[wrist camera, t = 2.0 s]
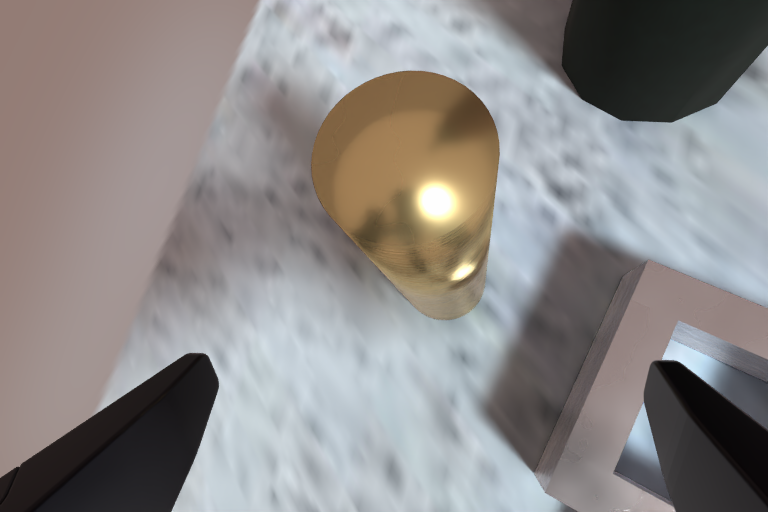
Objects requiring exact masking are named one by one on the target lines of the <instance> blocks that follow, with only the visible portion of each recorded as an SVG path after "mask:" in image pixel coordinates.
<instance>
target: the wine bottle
mask: <svg viewBox="0 0 768 512" xmlns="http://www.w3.org/2000/svg"><path fill="white" fill-rule="evenodd" d="M767 46H768V0H573V1H572V5H571V8H570V12H569V16H568V19H567V23H566V27H565V33H564V45H563V57H562V67H563V68H564V70H565V72H566V73H567V75H568V77H569V78H570V80H571V82H572V83H573V85H574V87H575V88H576V90H577V92H578V93H579V95H580V97H581V98H582V99H583V100H585V101H587V102H588V103H590V104H592V105H594V106H596V107H598V108H600V109H601V110H603V111H605V112H607V113H609V114H611V115H613V116H615V117H616V118H618V119H620V120H624V121H648V122H674V121H676V120H679V119H681V118H683V117H686V116H688V115H690V114H693V113H695V112H698V111H700V110H702V109H705V108H707V107H709V106H712V105H714V104H716V103H717V102H718V101H719V100H720V99H721V98H722V97H723V96H724V94H725V93H726V92H727V91H728V90H729V89H730V88H731V87H732V85H733V84H734V83H735V82H736V81H737V80H738V79H739V77H740V76H741V75H742V74H743V73H744V72H745V71H746V69H747V68H748V67H749V66H750V65H751V64H752V63H753V62H754V60H755V59H756V58H757V57H758V56H759V55H760V54H761V52H762V51H763V50H764V49H765V48H766V47H767Z"/></svg>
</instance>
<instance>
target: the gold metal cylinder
mask: <svg viewBox="0 0 768 512" xmlns="http://www.w3.org/2000/svg"><path fill="white" fill-rule="evenodd" d="M499 155H500V152H499V139H498V133H497V129H496V126H495V123H494V120H493V118H492V117H491V115H490V113H489V111H488V109H487V108H486V106H485V105H484V104H483V102H482V101H481V100H480V99H479V98H478V97H477V96H476V95H475V94H474V93H473V92H472V91H471V90H469V89H468V88H467V87H466V86H464V85H462V84H461V83H459V82H457V81H455V80H453V79H451V78H448V77H446V76H443V75H440V74H436V73H432V72H425V71H402V72H395V73H390V74H386V75H383V76H380V77H377V78H374V79H372V80H370V81H367V82H365V83H363V84H362V85H360V86H358V87H357V88H355V89H354V90H352V91H351V92H350V93H348V94H347V95H346V96H345V97H343V98H342V99H341V100H340V101H339V102H338V103H337V104H336V105H335V107H334V108H333V109H332V110H331V111H330V113H329V114H328V116H327V117H326V119H325V120H324V122H323V124H322V126H321V128H320V130H319V132H318V134H317V137H316V140H315V143H314V147H313V152H312V162H311V169H312V179H313V184H314V188H315V191H316V193H317V196H318V198H319V200H320V202H321V204H322V206H323V208H324V209H325V210H326V212H327V213H328V214H329V216H330V217H331V218H332V219H333V220H334V221H335V222H336V223H337V224H338V225H339V226H340V228H341V229H342V230H343V231H344V232H345V233H346V234H347V235H348V236H349V237H350V238H351V239H352V240H353V241H354V243H355V244H356V245H357V246H358V247H359V248H360V249H361V250H362V251H363V252H364V253H365V254H366V255H367V256H368V258H369V259H370V260H371V261H372V262H373V263H374V264H375V265H376V266H377V267H378V268H379V269H380V270H381V271H382V273H383V274H384V275H385V276H386V277H387V278H388V279H389V280H390V281H391V282H392V283H393V284H394V285H395V286H396V287H397V289H398V290H399V291H400V292H401V293H402V294H403V295H404V296H405V297H406V298H407V299H408V300H409V301H410V302H411V304H412V305H413V306H414V307H415V308H416V309H417V310H418V311H420V312H421V313H422V314H424V315H426V316H428V317H430V318H433V319H438V320H452V319H456V318H459V317H462V316H464V315H465V314H467V313H468V312H470V311H471V310H472V309H473V308H474V307H475V306H476V305H477V304H478V302H479V301H480V299H481V297H482V295H483V292H484V288H485V280H486V271H487V262H488V253H489V244H490V235H491V226H492V218H493V209H494V200H495V191H496V182H497V173H498V164H499Z"/></svg>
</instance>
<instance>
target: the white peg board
mask: <svg viewBox="0 0 768 512" xmlns="http://www.w3.org/2000/svg"><path fill="white" fill-rule="evenodd" d="M670 339H672V340H674V341H676V342H679V343H681V344H683V345H685V346H687V347H690V348H692V349H694V350H696V351H699V352H701V353H703V354H705V355H707V356H710V357H712V358H714V359H716V360H719V361H721V362H723V363H725V364H727V365H730V366H732V367H734V368H736V369H739V370H741V371H743V372H745V373H747V374H750V375H752V376H754V377H756V378H758V379H761V380H763V381H765V382H767V383H768V308H765V307H763V306H761V305H758V304H756V303H753V302H751V301H748V300H746V299H743V298H741V297H739V296H736V295H734V294H731V293H729V292H726V291H724V290H721V289H719V288H717V287H714V286H712V285H709V284H707V283H704V282H702V281H700V280H697V279H695V278H692V277H690V276H687V275H685V274H682V273H680V272H678V271H675V270H673V269H670V268H668V267H665V266H663V265H660V264H658V263H656V262H653V261H651V260H647V261H646V262H644V263H643V264H641V265H639V266H638V267H636V268H635V269H633V270H632V271H630V272H629V273H627V274H626V275H624V276H623V277H622V279H621V281H620V283H619V286H618V288H617V290H616V292H615V295H614V297H613V299H612V301H611V303H610V306H609V308H608V310H607V312H606V315H605V317H604V319H603V321H602V323H601V326H600V328H599V330H598V332H597V335H596V337H595V339H594V341H593V343H592V346H591V348H590V350H589V352H588V354H587V357H586V359H585V361H584V363H583V366H582V368H581V370H580V372H579V374H578V377H577V379H576V381H575V383H574V386H573V388H572V390H571V392H570V394H569V397H568V399H567V401H566V403H565V405H564V408H563V410H562V412H561V414H560V417H559V419H558V421H557V423H556V425H555V428H554V430H553V432H552V434H551V437H550V439H549V441H548V443H547V445H546V448H545V450H544V452H543V454H542V456H541V459H540V461H539V463H538V465H537V468H536V470H535V472H534V474H535V476H536V478H537V480H538V481H539V483H540V485H541V487H542V488H543V490H544V492H545V493H547V494H548V495H550V496H552V497H553V498H555V499H557V500H559V501H560V502H562V503H564V504H565V505H567V506H569V507H571V508H572V509H574V510H576V511H577V512H676V511H675V508H674V506H673V503H672V502H671V501H670V500H668V499H666V498H664V497H662V496H660V495H659V494H657V493H655V492H653V491H651V490H649V489H648V488H646V487H644V486H642V485H640V484H638V483H637V482H635V481H633V480H631V479H629V478H627V477H626V476H624V475H622V474H620V473H618V472H616V471H615V467H616V465H617V463H618V460H619V458H620V456H621V453H622V451H623V449H624V446H625V444H626V441H627V439H628V437H629V434H630V432H631V430H632V427H633V425H634V423H635V420H636V418H637V416H638V413H639V411H640V409H641V406H642V404H643V402H644V388H645V384H646V379H647V375H648V371H649V367H650V364H651V363H652V362H653V361H655V360H662V357H663V355H664V353H665V350H666V348H667V346H668V343H669V341H670Z"/></svg>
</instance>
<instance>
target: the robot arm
mask: <svg viewBox="0 0 768 512" xmlns="http://www.w3.org/2000/svg"><path fill="white" fill-rule="evenodd" d="M218 388H219V381H218V377H217V375H216V373H215V370H214V368H213V366H212V363H211V361H210V359H209V357H208V356H207V355H206V354H204V353H188V354H186V355H184V356H182V357H181V358H179V359H178V360H176V361H175V362H173V363H172V364H170V365H169V366H167V367H166V368H165V369H163V370H162V371H160V372H159V373H157V374H156V375H154V376H153V377H151V378H150V379H148V380H146V381H145V382H143V383H142V384H140V385H139V386H137V387H136V388H134V389H133V390H131V391H130V392H128V393H127V394H125V395H124V396H122V397H121V398H119V399H118V400H116V401H115V402H113V403H112V404H110V405H109V406H107V407H106V408H104V409H103V410H101V411H100V412H98V413H97V414H95V415H94V416H92V417H91V418H89V419H88V420H86V421H85V422H83V423H82V424H80V425H79V426H77V427H76V428H74V429H73V430H71V431H70V432H68V433H67V434H66V435H64V436H63V437H61V438H60V439H58V440H56V441H55V442H53V443H52V444H51V445H49V446H47V447H46V448H44V449H43V450H42V451H40V452H39V453H37V454H35V455H34V456H32V457H31V458H29V459H28V460H27V461H25V462H23V463H22V464H21V466H20V467H16V468H14V469H13V470H11V471H10V472H8V473H7V474H5V475H4V476H2V477H1V478H0V512H171V511H172V509H173V507H174V504H175V502H176V500H177V498H178V495H179V493H180V491H181V489H182V486H183V484H184V482H185V480H186V477H187V475H188V473H189V471H190V469H191V466H192V464H193V462H194V459H195V457H196V454H197V452H198V449H199V446H200V443H201V440H202V437H203V434H204V431H205V428H206V425H207V422H208V419H209V416H210V413H211V410H212V407H213V404H214V401H215V398H216V395H217V392H218ZM644 404H645V408H646V412H647V416H648V420H649V423H650V427H651V431H652V435H653V439H654V443H655V447H656V451H657V454H658V458H659V462H660V466H661V470H662V473H663V477H664V480H665V484H666V487H667V490H668V492H669V495H670V498H671V501H672V503H673V506H674V508H675V511H676V512H768V430H767V429H766V428H764V427H763V426H762V425H761V424H759V423H758V422H757V421H755V420H754V419H753V418H752V417H750V416H749V415H748V414H746V413H745V412H744V411H742V410H741V409H740V408H739V407H737V406H736V405H735V404H733V403H732V402H731V401H729V400H728V399H727V398H726V397H724V396H723V395H722V394H720V393H719V392H718V391H717V390H715V389H714V388H713V387H711V386H710V385H709V384H707V383H706V382H705V381H704V380H702V379H701V378H700V377H698V376H697V375H696V374H694V373H693V372H692V371H691V370H689V369H688V368H687V367H685V366H684V365H683V364H681V363H680V362H678V361H674V360H655V361H653V362H652V363H651V364H650V367H649V371H648V375H647V379H646V384H645V388H644Z"/></svg>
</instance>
